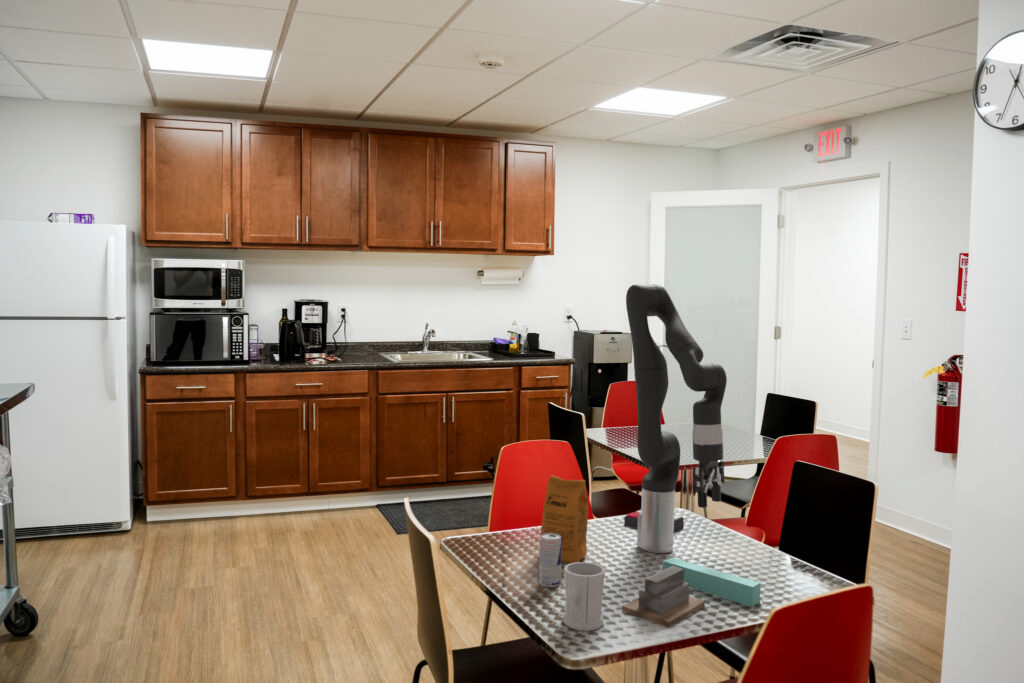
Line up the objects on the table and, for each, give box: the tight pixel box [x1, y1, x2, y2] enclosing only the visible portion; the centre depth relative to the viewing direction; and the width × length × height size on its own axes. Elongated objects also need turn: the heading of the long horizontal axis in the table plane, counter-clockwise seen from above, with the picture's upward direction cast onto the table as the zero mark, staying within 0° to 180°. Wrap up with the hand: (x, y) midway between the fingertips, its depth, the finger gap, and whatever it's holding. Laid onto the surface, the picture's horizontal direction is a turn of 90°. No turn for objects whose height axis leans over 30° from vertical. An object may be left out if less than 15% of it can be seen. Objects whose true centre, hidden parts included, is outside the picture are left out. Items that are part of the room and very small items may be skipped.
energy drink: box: [538, 533, 562, 589], centre depth 189 cm, size 5×5×12 cm
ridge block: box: [621, 566, 706, 628], centre depth 176 cm, size 12×16×8 cm
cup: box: [562, 561, 606, 632], centre depth 166 cm, size 10×9×12 cm
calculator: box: [623, 509, 685, 532], centre depth 240 cm, size 11×4×15 cm
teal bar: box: [662, 557, 762, 608], centre depth 188 cm, size 24×4×5 cm, turn 47°
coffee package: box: [540, 474, 589, 564], centre depth 209 cm, size 10×12×22 cm
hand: (709, 504), depth 198 cm, fingers open, 8 cm apart
